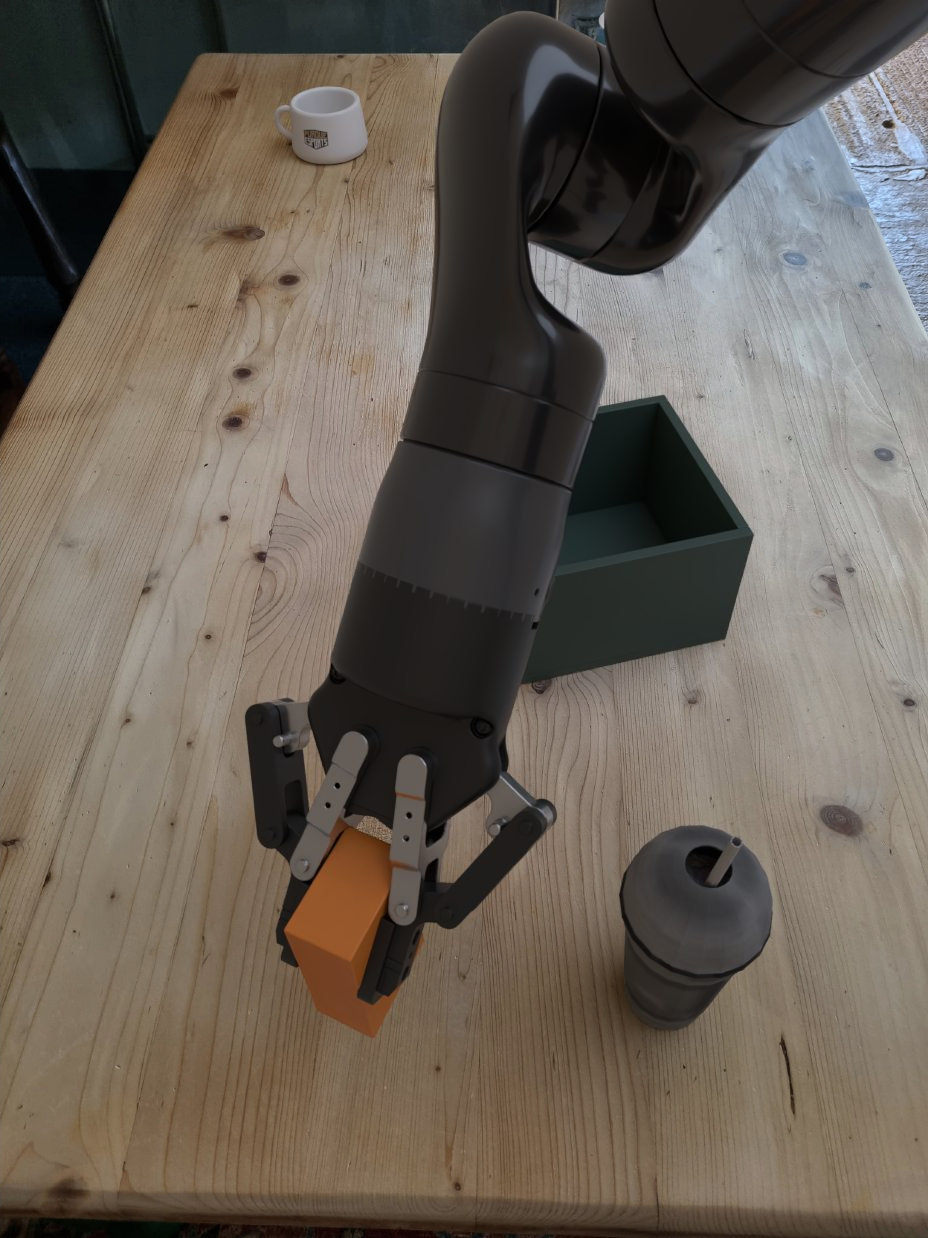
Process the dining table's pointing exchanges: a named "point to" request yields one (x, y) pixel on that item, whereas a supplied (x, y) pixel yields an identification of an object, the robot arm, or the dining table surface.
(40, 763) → the dining table surface
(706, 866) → the beverage cup
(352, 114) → the mug
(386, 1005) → the block
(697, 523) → the open box
